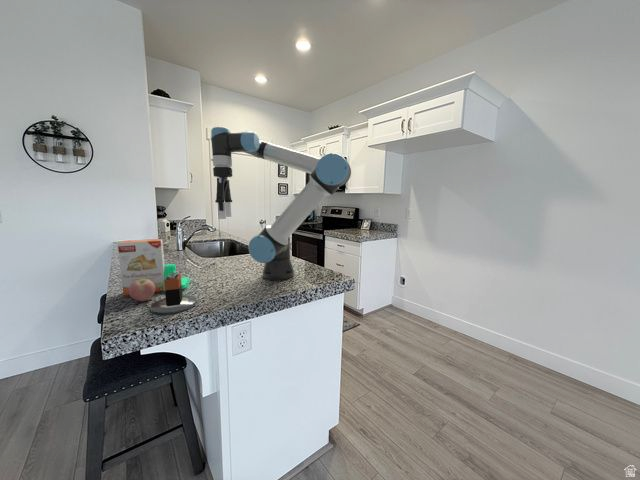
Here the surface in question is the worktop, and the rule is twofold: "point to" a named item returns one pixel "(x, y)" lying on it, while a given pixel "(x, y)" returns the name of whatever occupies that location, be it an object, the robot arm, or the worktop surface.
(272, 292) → the worktop surface
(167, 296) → the battery
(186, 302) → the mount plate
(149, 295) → the apple
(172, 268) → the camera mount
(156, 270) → the cracker box
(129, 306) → the worktop surface
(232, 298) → the worktop surface
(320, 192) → the robot arm
